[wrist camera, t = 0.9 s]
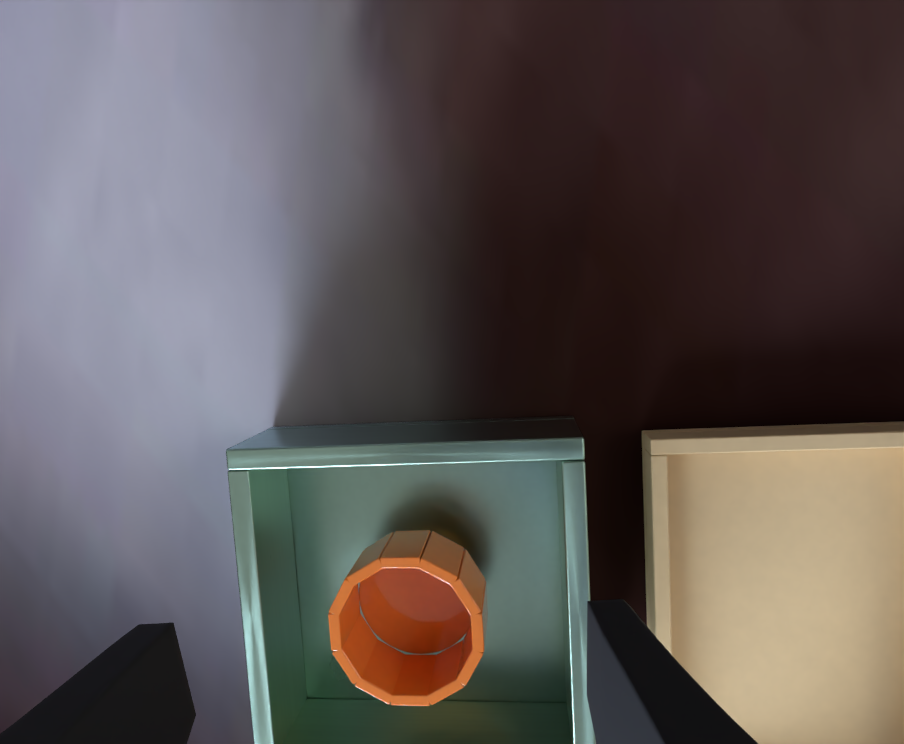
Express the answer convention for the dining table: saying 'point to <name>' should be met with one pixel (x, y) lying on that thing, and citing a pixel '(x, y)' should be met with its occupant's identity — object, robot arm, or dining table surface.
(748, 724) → the tray
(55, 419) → the dining table surface
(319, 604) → the basin
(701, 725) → the robot arm
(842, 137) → the dining table surface
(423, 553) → the bowl
